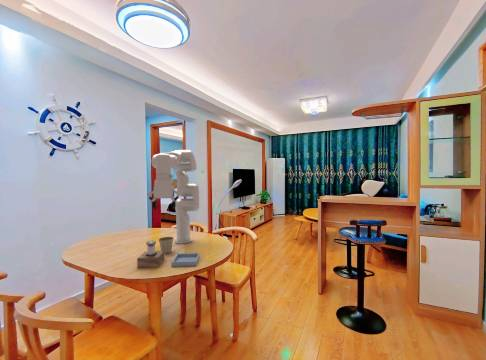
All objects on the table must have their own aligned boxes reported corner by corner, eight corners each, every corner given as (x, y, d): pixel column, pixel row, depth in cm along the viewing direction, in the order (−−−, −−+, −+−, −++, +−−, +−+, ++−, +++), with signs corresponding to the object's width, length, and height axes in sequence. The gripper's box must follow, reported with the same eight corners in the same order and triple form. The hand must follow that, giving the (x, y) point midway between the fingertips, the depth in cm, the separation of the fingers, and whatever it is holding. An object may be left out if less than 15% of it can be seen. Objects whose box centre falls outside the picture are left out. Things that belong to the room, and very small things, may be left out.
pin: (148, 261, 130) (148, 240, 129) (157, 261, 130) (157, 240, 130) (145, 265, 125) (144, 243, 124) (154, 265, 125) (154, 243, 125)
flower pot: (157, 255, 139) (157, 241, 139) (159, 250, 149) (158, 237, 148) (173, 253, 142) (173, 240, 142) (174, 249, 151) (173, 236, 151)
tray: (177, 257, 135) (177, 253, 135) (199, 257, 136) (199, 253, 136) (171, 266, 122) (171, 262, 122) (196, 265, 123) (195, 261, 123)
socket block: (145, 259, 132) (145, 251, 132) (164, 259, 133) (164, 250, 133) (137, 267, 121) (137, 258, 121) (158, 267, 122) (158, 257, 122)
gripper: (181, 176, 127) (182, 207, 127) (149, 177, 126) (150, 208, 126) (178, 177, 119) (178, 209, 119) (144, 177, 118) (145, 210, 119)
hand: (164, 208), depth 123 cm, fingers open, 9 cm apart
